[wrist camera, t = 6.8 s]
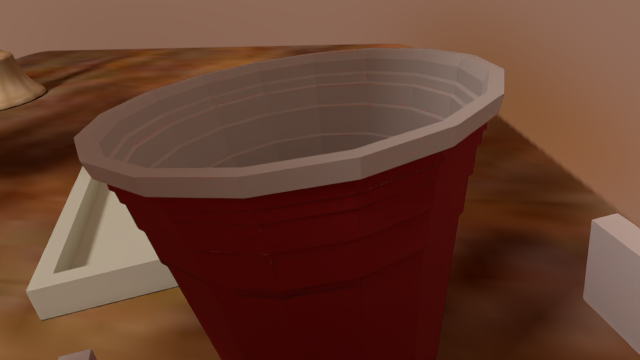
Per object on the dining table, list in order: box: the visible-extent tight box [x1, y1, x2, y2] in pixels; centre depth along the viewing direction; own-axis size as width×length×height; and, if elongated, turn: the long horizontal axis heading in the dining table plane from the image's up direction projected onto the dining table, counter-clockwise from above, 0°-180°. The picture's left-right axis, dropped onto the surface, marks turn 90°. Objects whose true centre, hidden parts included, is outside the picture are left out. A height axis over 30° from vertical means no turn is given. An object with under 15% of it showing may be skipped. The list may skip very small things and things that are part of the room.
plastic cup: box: [74, 48, 504, 360], centre depth 16 cm, size 11×11×12 cm
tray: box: [26, 166, 178, 320], centre depth 34 cm, size 18×18×2 cm
